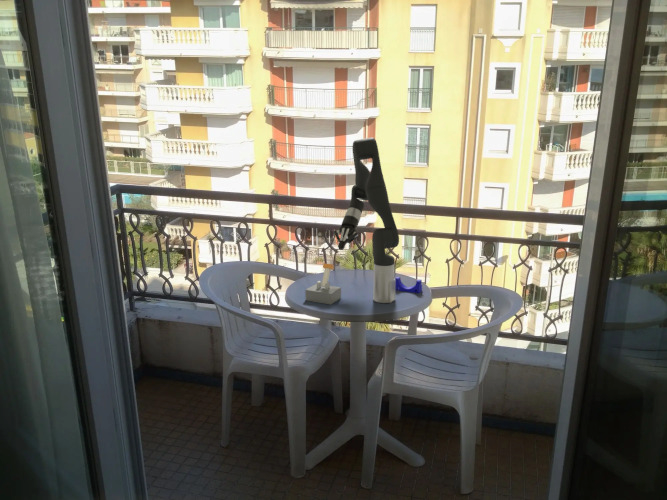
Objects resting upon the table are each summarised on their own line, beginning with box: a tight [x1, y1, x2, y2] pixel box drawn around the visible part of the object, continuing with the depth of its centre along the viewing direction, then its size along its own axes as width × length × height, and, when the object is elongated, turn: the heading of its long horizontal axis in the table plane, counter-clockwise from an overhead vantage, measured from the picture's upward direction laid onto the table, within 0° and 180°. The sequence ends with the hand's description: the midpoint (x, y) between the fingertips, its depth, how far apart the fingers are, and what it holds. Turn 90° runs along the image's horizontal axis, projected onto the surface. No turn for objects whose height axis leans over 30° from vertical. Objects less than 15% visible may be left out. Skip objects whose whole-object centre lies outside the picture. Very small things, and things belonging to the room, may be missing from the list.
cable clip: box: [394, 276, 423, 294], centre depth 282 cm, size 12×4×6 cm, turn 65°
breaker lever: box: [321, 263, 335, 287], centre depth 270 cm, size 4×2×10 cm, turn 63°
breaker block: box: [304, 280, 342, 305], centre depth 269 cm, size 13×10×8 cm
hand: (340, 249), depth 280 cm, fingers closed
